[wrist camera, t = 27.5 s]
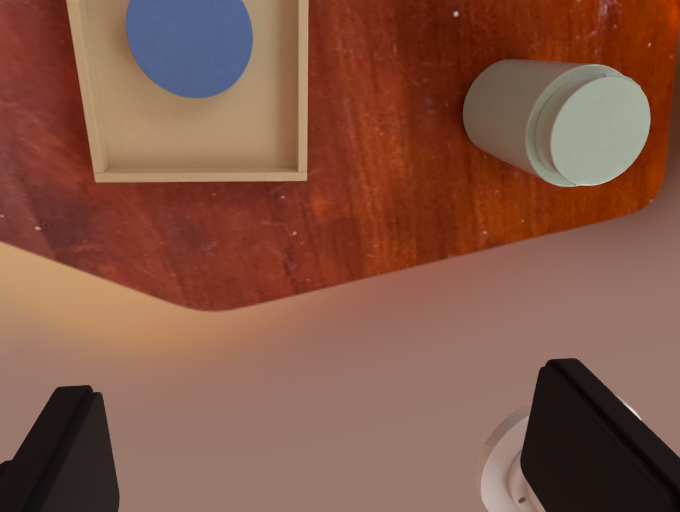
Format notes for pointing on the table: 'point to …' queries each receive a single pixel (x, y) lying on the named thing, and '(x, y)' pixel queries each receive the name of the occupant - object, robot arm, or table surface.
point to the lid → (190, 43)
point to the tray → (194, 104)
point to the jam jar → (558, 119)
